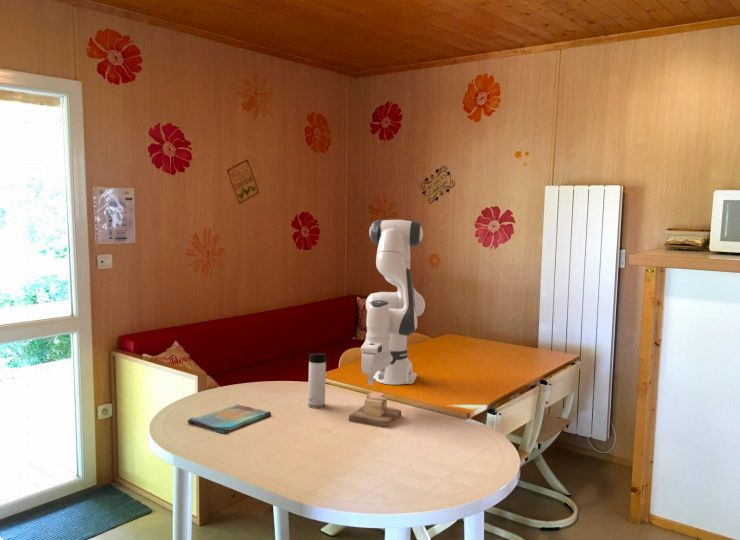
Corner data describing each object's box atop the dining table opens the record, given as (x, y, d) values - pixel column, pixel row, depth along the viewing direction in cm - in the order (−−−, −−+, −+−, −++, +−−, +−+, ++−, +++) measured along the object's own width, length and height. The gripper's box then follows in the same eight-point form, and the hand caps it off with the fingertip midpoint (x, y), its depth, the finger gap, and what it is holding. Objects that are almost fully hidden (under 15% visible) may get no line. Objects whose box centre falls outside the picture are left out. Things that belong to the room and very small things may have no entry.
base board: (365, 410, 217) (365, 404, 217) (401, 416, 212) (401, 410, 212) (348, 421, 204) (349, 415, 204) (386, 427, 199) (386, 421, 199)
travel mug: (309, 408, 216) (311, 354, 215) (306, 403, 223) (307, 350, 221) (326, 407, 218) (327, 354, 217) (322, 402, 224) (324, 350, 223)
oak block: (370, 409, 212) (371, 395, 211) (386, 411, 210) (387, 397, 209) (364, 413, 206) (364, 399, 206) (380, 416, 204) (380, 402, 204)
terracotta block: (371, 404, 224) (372, 391, 224) (384, 406, 222) (384, 393, 222) (366, 408, 220) (367, 395, 219) (379, 410, 218) (379, 397, 217)
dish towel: (185, 425, 196) (185, 418, 196) (235, 408, 216) (236, 401, 216) (223, 436, 187) (224, 428, 187) (272, 417, 207) (272, 410, 207)
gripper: (380, 340, 230) (378, 375, 230) (358, 348, 211) (357, 386, 212) (395, 341, 227) (394, 377, 228) (375, 349, 209) (373, 388, 209)
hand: (376, 381), depth 220 cm, fingers open, 8 cm apart
